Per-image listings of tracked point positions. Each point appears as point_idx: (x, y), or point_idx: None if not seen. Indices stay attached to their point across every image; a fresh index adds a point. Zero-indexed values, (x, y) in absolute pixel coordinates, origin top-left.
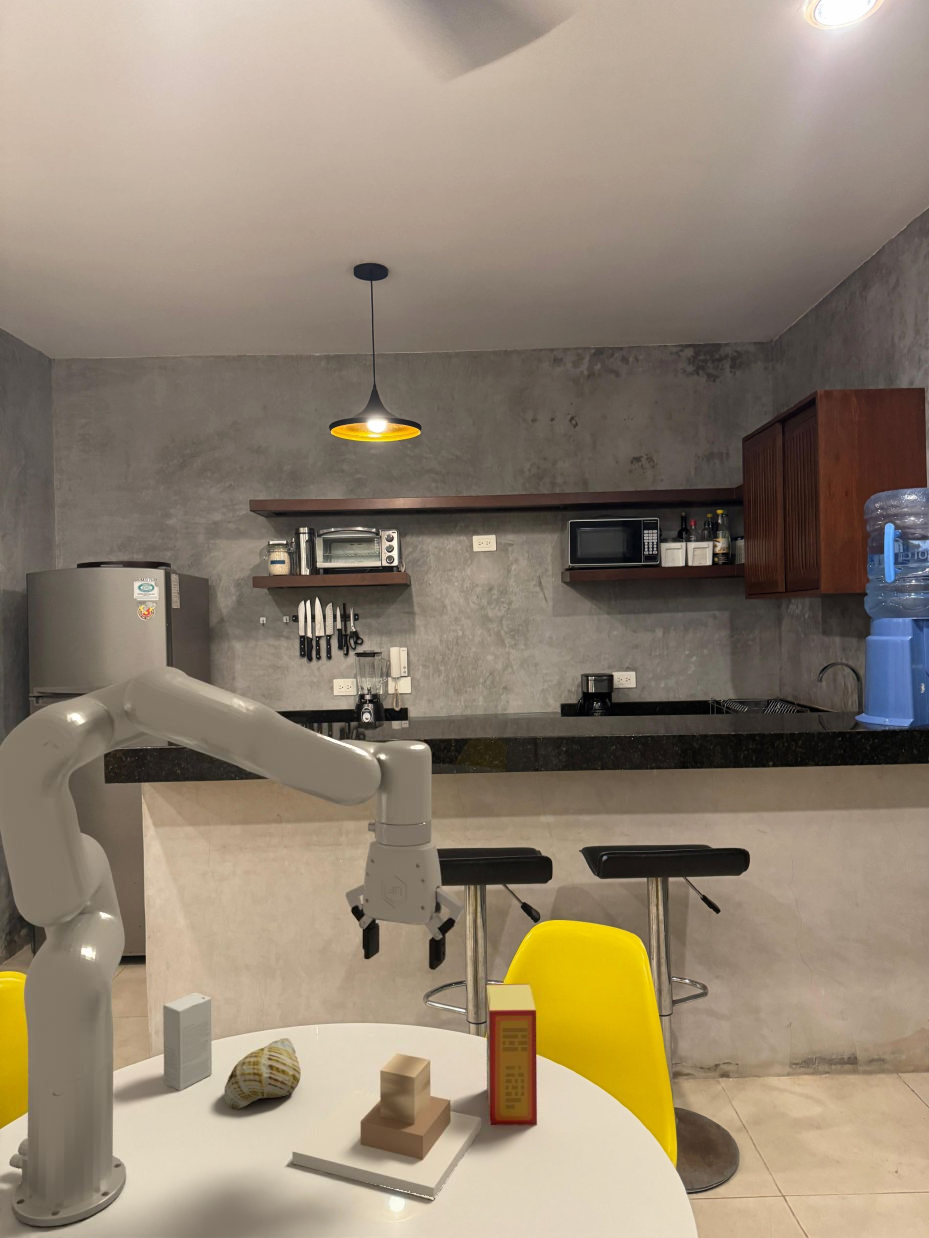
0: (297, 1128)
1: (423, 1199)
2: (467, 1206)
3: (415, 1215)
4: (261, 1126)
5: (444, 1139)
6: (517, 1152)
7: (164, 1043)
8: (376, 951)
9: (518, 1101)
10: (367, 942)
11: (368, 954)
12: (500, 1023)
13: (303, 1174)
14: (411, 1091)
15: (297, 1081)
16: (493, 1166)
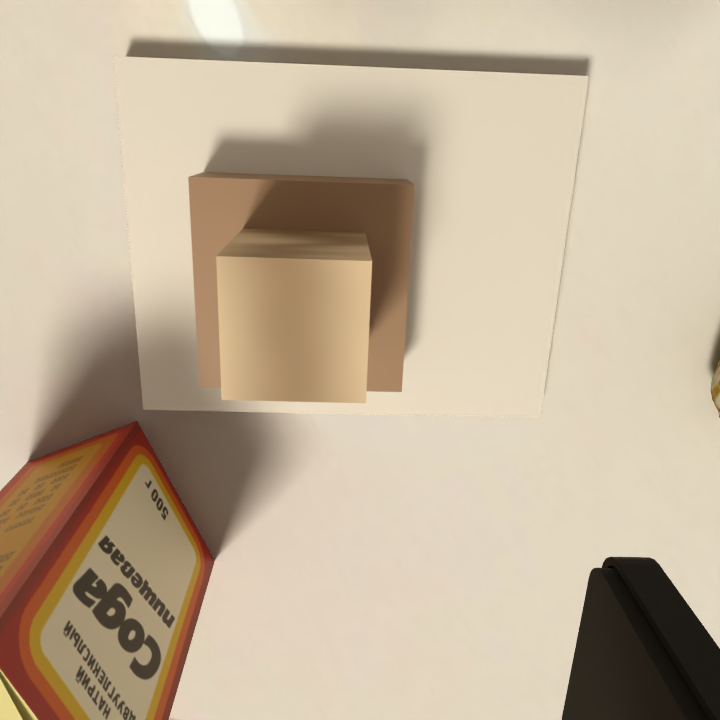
0: (631, 236)
1: (153, 54)
2: (29, 68)
3: None
4: None
5: (191, 284)
6: (18, 336)
7: None
8: (576, 706)
9: (43, 476)
10: (703, 701)
11: (620, 592)
12: None
13: (523, 40)
14: (239, 247)
15: (716, 387)
16: (47, 258)
